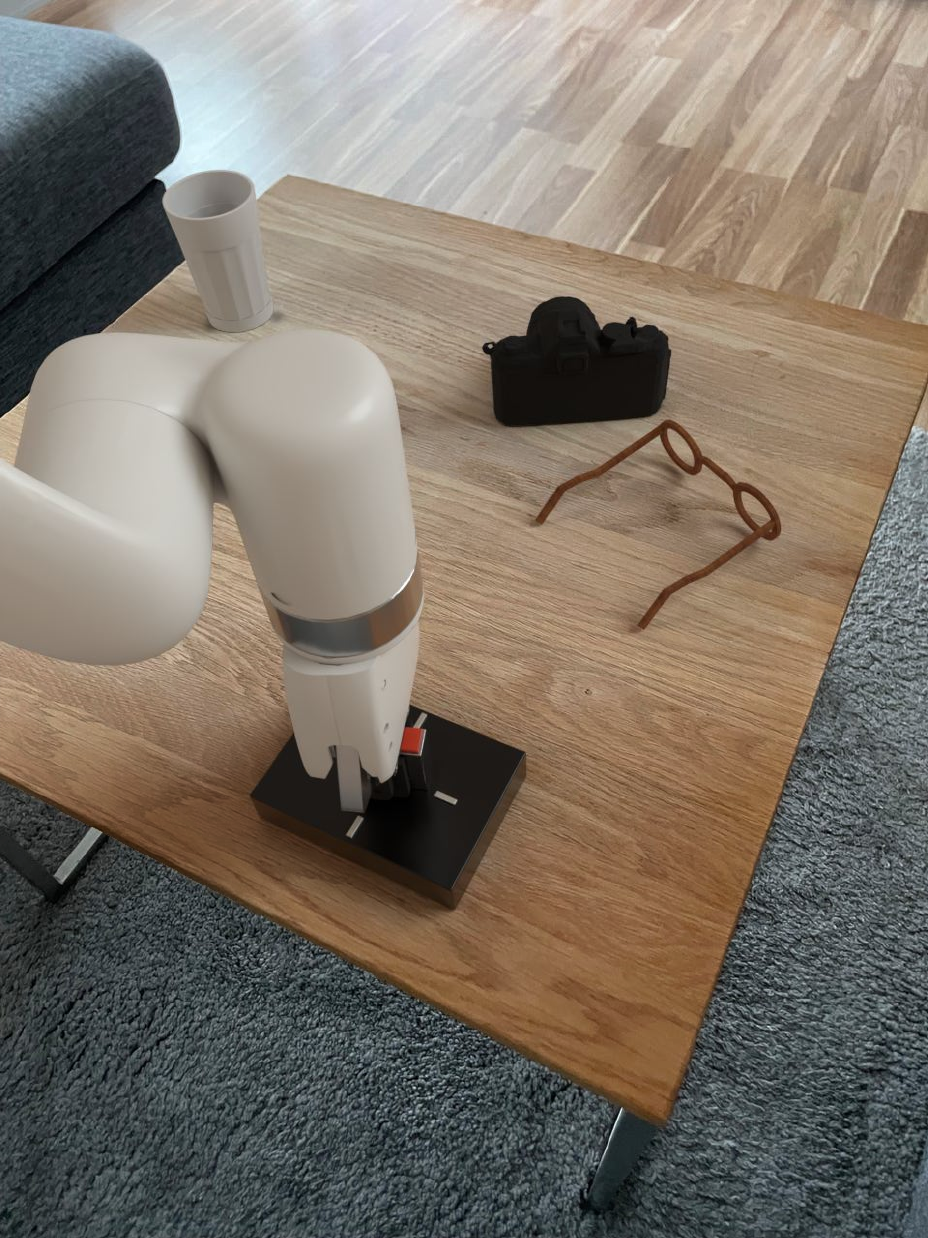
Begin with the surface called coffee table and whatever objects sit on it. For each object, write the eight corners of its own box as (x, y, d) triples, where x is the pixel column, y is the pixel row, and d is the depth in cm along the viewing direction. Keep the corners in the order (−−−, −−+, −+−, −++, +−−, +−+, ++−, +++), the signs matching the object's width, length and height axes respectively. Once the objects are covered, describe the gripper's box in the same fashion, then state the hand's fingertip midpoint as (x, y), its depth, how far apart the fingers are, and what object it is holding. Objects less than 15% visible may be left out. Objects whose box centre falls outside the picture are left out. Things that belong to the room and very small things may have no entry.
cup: (248, 276, 101) (218, 159, 91) (299, 308, 97) (273, 190, 88) (182, 314, 98) (144, 197, 88) (232, 348, 94) (197, 230, 84)
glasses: (779, 551, 75) (792, 504, 71) (640, 633, 71) (645, 588, 68) (664, 452, 82) (670, 404, 78) (531, 522, 79) (531, 475, 75)
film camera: (652, 348, 90) (662, 258, 83) (669, 421, 85) (681, 331, 77) (482, 359, 91) (477, 270, 84) (486, 433, 85) (482, 344, 78)
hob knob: (343, 781, 62) (332, 744, 59) (350, 756, 63) (339, 718, 60) (427, 790, 62) (420, 753, 58) (432, 764, 63) (426, 726, 59)
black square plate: (259, 818, 64) (248, 794, 62) (341, 697, 70) (334, 671, 67) (455, 911, 60) (451, 890, 57) (527, 775, 65) (526, 750, 63)
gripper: (303, 460, 53) (354, 663, 68) (218, 717, 44) (299, 889, 58) (445, 468, 52) (466, 672, 67) (390, 732, 43) (428, 903, 57)
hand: (388, 772), depth 62 cm, fingers closed on hob knob
